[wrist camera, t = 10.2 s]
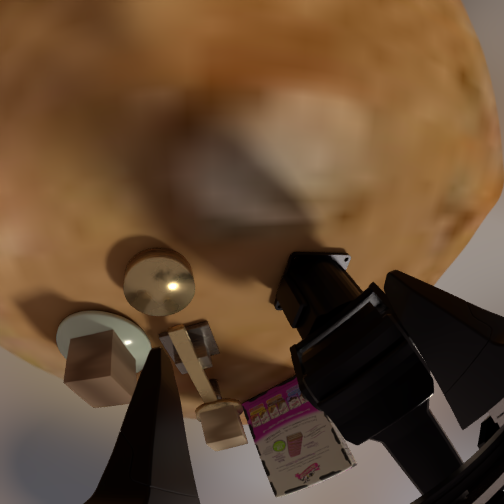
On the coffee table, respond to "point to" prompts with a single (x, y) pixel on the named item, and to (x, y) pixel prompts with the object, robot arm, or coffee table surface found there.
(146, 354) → the sage dish
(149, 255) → the balance
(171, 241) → the coffee table surface
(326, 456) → the candy bar box
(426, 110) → the coffee table surface
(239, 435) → the oak block
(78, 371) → the walnut block
